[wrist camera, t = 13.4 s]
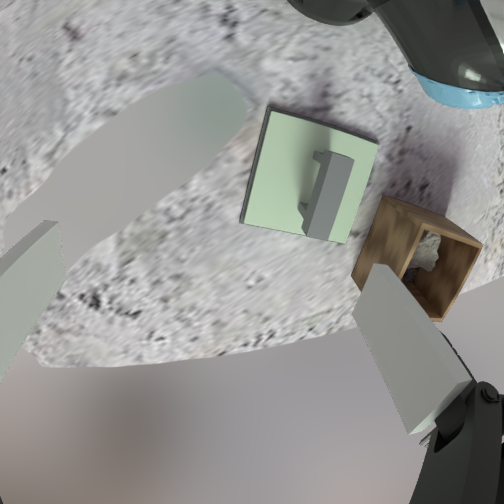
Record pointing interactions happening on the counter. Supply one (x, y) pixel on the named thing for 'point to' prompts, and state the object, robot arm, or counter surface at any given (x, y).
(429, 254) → the stone
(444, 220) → the crate
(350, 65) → the counter surface
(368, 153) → the lid
